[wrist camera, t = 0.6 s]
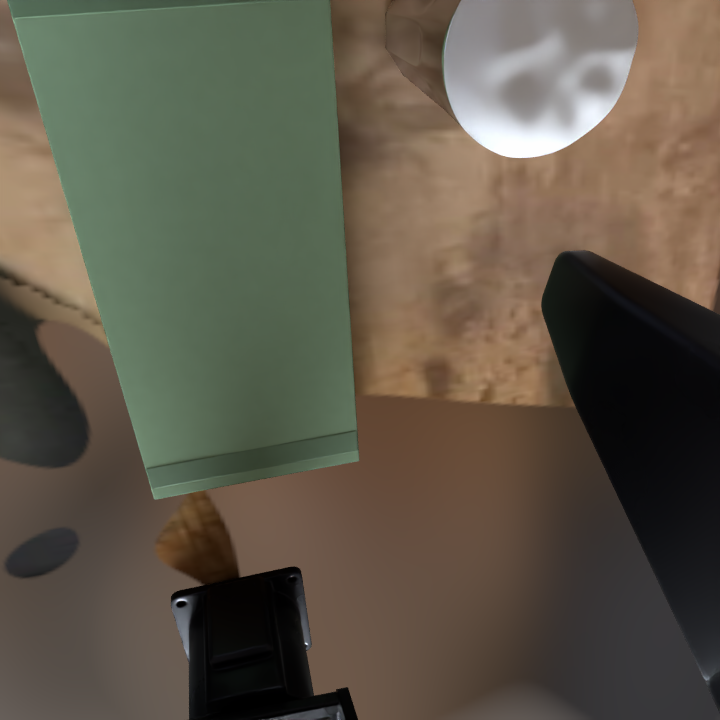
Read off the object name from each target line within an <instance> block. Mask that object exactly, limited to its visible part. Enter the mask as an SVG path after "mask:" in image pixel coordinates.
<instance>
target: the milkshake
mask: <svg viewBox="0 0 720 720" xmlns="http://www.w3.org/2000/svg"><path fill="white" fill-rule="evenodd" d="M637 40H638V20H637V15H636V11H635V7H634V4H633V1H632V0H393V2H392V3H391V5H390V6H389V8H388V10H387V11H386V13H385V48H386V50H387V51H388V53H389V55H390V56H391V58H392V59H393V61H394V62H395V64H396V65H397V67H398V69H399V70H400V72H401V73H402V75H403V76H404V77H406V78H407V79H408V80H409V81H410V82H412V83H413V84H414V85H415V86H416V87H417V88H419V89H420V90H421V91H422V92H423V93H424V94H426V95H427V96H428V97H429V98H430V99H432V100H433V101H434V102H435V103H436V104H438V105H439V106H440V107H441V108H443V109H444V110H445V111H446V112H447V113H448V114H449V115H450V116H451V117H452V118H453V119H454V120H455V121H456V122H457V123H458V124H459V125H460V126H461V127H462V128H463V129H464V130H465V131H466V132H467V133H468V134H469V135H470V136H471V137H472V138H473V139H474V140H476V141H477V142H478V143H480V144H481V145H482V146H484V147H486V148H487V149H489V150H491V151H493V152H495V153H497V154H500V155H503V156H507V157H514V158H529V157H537V156H542V155H546V154H550V153H553V152H556V151H558V150H561V149H563V148H565V147H567V146H568V145H570V144H572V143H573V142H575V141H576V140H578V139H579V138H581V137H582V136H583V135H585V134H586V133H587V132H589V131H590V130H591V129H592V128H594V127H595V126H596V125H597V124H598V123H599V122H600V121H602V120H603V119H604V118H605V116H606V115H607V114H608V113H609V112H610V111H611V109H612V108H613V106H614V105H615V103H616V102H617V100H618V98H619V96H620V94H621V92H622V90H623V88H624V85H625V83H626V80H627V77H628V74H629V70H630V67H631V63H632V60H633V56H634V53H635V49H636V45H637Z"/></svg>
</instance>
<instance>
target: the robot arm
mask: <svg viewBox="0 0 720 720" xmlns="http://www.w3.org/2000/svg"><path fill="white" fill-rule="evenodd" d="M541 307H542V313H543V316H544V319H545V322H546V325H547V328H548V331H549V334H550V337H551V340H552V343H553V346H554V349H555V352H556V355H557V358H558V361H559V364H560V367H561V370H562V373H563V375H564V378H565V381H566V384H567V387H568V389H569V392H570V395H571V397H572V399H573V402H574V404H575V406H576V409H577V411H578V413H579V415H580V417H581V419H582V421H583V423H584V425H585V428H586V430H587V432H588V434H589V436H590V438H591V440H592V442H593V444H594V447H595V449H596V451H597V453H598V455H599V457H600V460H601V462H602V464H603V466H604V468H605V470H606V472H607V474H608V477H609V479H610V481H611V483H612V485H613V487H614V489H615V491H616V493H617V496H618V498H619V500H620V502H621V504H622V506H623V508H624V510H625V513H626V515H627V517H628V519H629V521H630V523H631V525H632V527H633V529H634V532H635V534H636V536H637V538H638V540H639V542H640V544H641V546H642V549H643V551H644V553H645V555H646V557H647V559H648V561H649V563H650V566H651V568H652V570H653V572H654V574H655V576H656V578H657V580H658V583H659V585H660V587H661V589H662V591H663V593H664V595H665V597H666V599H667V602H668V604H669V606H670V608H671V610H672V612H673V614H674V616H675V618H676V621H677V623H678V625H679V627H680V629H681V631H682V633H683V635H684V638H685V640H686V642H687V644H688V646H689V648H690V650H691V652H692V654H693V657H694V659H695V661H696V663H697V665H698V667H699V669H700V672H701V674H702V676H703V678H704V679H705V680H707V681H706V685H707V687H708V689H709V692H710V694H711V696H712V698H713V700H714V702H715V704H716V706H717V708H718V711H719V713H720V315H719V314H717V313H715V312H713V311H711V310H709V309H707V308H705V307H703V306H701V305H699V304H697V303H695V302H693V301H691V300H689V299H687V298H685V297H682V296H680V295H678V294H676V293H674V292H672V291H670V290H668V289H666V288H664V287H662V286H660V285H658V284H656V283H654V282H652V281H650V280H648V279H646V278H644V277H642V276H640V275H638V274H636V273H633V272H631V271H629V270H627V269H625V268H623V267H621V266H619V265H617V264H615V263H613V262H611V261H609V260H607V259H605V258H603V257H601V256H599V255H597V254H595V253H593V252H590V251H586V250H582V251H564V252H562V253H560V254H559V255H558V257H557V258H556V260H555V262H554V265H553V268H552V271H551V273H550V276H549V279H548V282H547V285H546V288H545V290H544V293H543V296H542V302H541ZM291 576H293V577H291ZM180 600H183V601H180ZM171 608H172V611H173V614H174V618H175V621H176V624H177V627H178V630H179V633H180V636H181V639H182V643H183V646H184V649H185V652H186V656H187V659H188V662H189V720H358V718H357V715H356V712H355V709H354V705H353V702H352V700H351V696H350V693H349V690H348V688H347V687H346V688H341V689H336V692H331V693H326V694H321V695H315V696H314V693H313V687H312V682H311V676H310V670H309V665H308V659H307V653H306V651H307V650H309V649H310V648H311V645H312V643H311V636H310V630H309V622H308V615H307V608H306V602H305V594H304V587H303V580H302V574H301V570H300V569H299V568H298V567H288V568H283V569H278V570H273V571H269V572H264V573H260V574H255V575H250V576H245V577H241V578H236V579H231V580H227V581H222V582H217V583H213V584H208V585H203V586H199V587H194V588H189V589H185V590H180V591H177V592H175V593H174V594H172V596H171Z"/></svg>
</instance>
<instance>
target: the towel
mask: <svg viewBox="0 0 720 720" xmlns="http://www.w3.org/2000/svg"><path fill="white" fill-rule="evenodd" d="M7 2H8V5H9V9H10V12H11V15H12V18H13V22H14V25H15V28H16V32H17V35H18V39H19V42H20V45H21V49H22V52H23V56H24V59H25V62H26V66H27V69H28V72H29V76H30V79H31V83H32V86H33V89H34V93H35V96H36V100H37V103H38V106H39V110H40V113H41V117H42V120H43V123H44V127H45V130H46V134H47V137H48V140H49V144H50V147H51V151H52V154H53V157H54V161H55V164H56V167H57V171H58V174H59V178H60V181H61V184H62V188H63V191H64V195H65V198H66V201H67V205H68V208H69V212H70V215H71V218H72V222H73V225H74V229H75V232H76V235H77V239H78V242H79V245H80V249H81V252H82V256H83V259H84V262H85V266H86V269H87V273H88V276H89V279H90V283H91V286H92V290H93V293H94V296H95V300H96V303H97V307H98V310H99V313H100V317H101V320H102V324H103V327H104V330H105V334H106V337H107V340H108V344H109V347H110V351H111V354H112V357H113V361H114V364H115V368H116V371H117V374H118V378H119V381H120V384H121V388H122V391H123V395H124V398H125V401H126V405H127V408H128V412H129V415H130V418H131V422H132V425H133V428H134V432H135V435H136V439H137V442H138V446H139V449H140V452H141V456H142V459H143V462H144V466H145V469H146V473H147V476H148V479H149V483H150V486H151V489H152V493H153V497H154V499H160V498H165V497H171V496H176V495H181V494H187V493H192V492H197V491H202V490H208V489H213V488H218V487H224V486H229V485H234V484H239V483H244V482H250V481H255V480H260V479H266V478H271V477H276V476H282V475H287V474H292V473H297V472H303V471H308V470H313V469H318V468H324V467H329V466H334V465H340V464H345V463H350V462H355V461H359V449H358V433H357V417H356V404H355V386H354V370H353V354H352V338H351V323H350V307H349V291H348V275H347V259H346V244H345V228H344V212H343V196H342V180H341V165H340V149H339V133H338V117H337V101H336V86H335V70H334V54H333V38H332V22H331V7H330V0H7Z"/></svg>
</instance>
